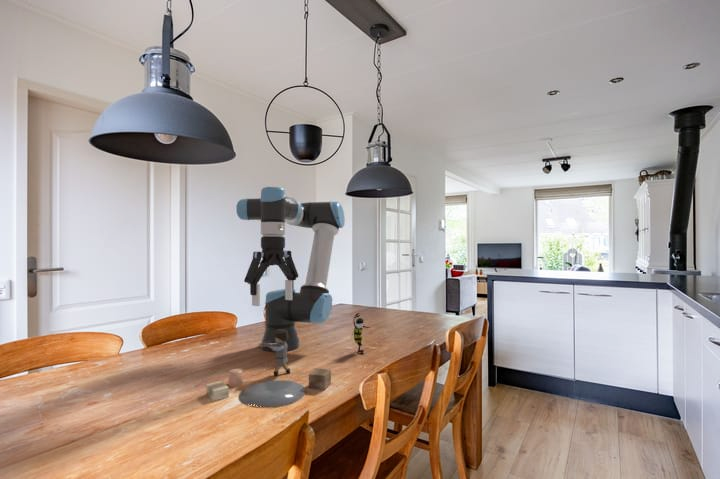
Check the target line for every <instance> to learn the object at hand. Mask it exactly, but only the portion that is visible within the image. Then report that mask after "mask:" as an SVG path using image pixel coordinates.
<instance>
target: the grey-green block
mask: <svg viewBox="0 0 720 479" xmlns="http://www.w3.org/2000/svg"><path fill="white" fill-rule="evenodd" d="M229 387H230V386H229V385H227V384H226V383H224V382H223V381H222V380H219V381H216V382H215V381H214V382H212V383H207V384H206V386H205V388H206V389H205V390H206V391H205V392H206V393H205V394H206V396H208V398H210V399H211V400H212V401H213V402H216V401H220V400H223V398H224V399H227V398H229V397H230V394H229V393H230V389H229ZM219 399H220V400H219ZM215 400H216V401H215Z"/></svg>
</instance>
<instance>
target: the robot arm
mask: <svg viewBox="0 0 720 479" xmlns="http://www.w3.org/2000/svg"><path fill="white" fill-rule="evenodd" d="M235 207H236V214H237V217H238V218H239V219H240V220H243V221H260V235H261V237H260V248H261V251H253V253H252V259H251V262H250V265H249V267H248V269H247V272H246V275H245V278H244V280H243V281H244V283H246V284H248V285H250V286H249V287H250V288H249V290H250V292H249V293H250V296H251V306H253V307H260V306H261V297H260V296H261V293H260V292H261V284H259V281H260V280H261V279H262V277H263V276H264V274H265V272H267V269H268V268H269V267H271V266H278V268H279V269H280V271H281V272H282V274H283V275H284V276H285V278H286V280H284V288H281V289H276V290H272V291H271V290H270V291H269V292H267V293H266V295H265V301H264V304H265V330H264V333H263V337H262V340H261V343H263V342H267V343H276V340H275V331H276V330H279V329H284V330H287V331H288V335H289V338H288V340H287V341H286V343H287V345H288V347H287V352H288V351H292V350H295V349H297V348H299V347H300V338H299V336H298V332H297V330H296V323H308V324H309V323H310V324H324V323H325V322H326V321H327V320H328V319H329V318H330V315H331V313H332V309H333V296H332V295H331V294H330V291H329V289H328V287H327V285H328V284H327V283H328V277H329V271H330V264H331V258H332V251H333V246H334V240H335V239H334V238H335V236H336V235H338V233H339V229H342V228H344V226H345V212H344V208H343V205H342V204H341V203H340V202H338V201H314V202H309V201H308V202H302V203H301V202H300V201H298V199H295V198H293V197H288V196H286V191H285V188H283V187H280V186H279V187H278V186H265V187H263V188H261V189H260V198H243V199H242V198H241V199H239V200H238V201H237V203H236V206H235ZM286 224H288V225H289V226H296V227H301V228H307V229H312V231H313V232H314V235H313V240H312V246H311V251H310V256H309V261H308V262H309V263H308V266H307V267H308V268H307V273H306V278H305V283H304V284H303V285H301V286H300V290H299V292H296V290H295V288H294V287H295V286H294V285H295V283H294V282H295V281H296V280H297V279H298V278H299V273H298V270H297V268H296V264H295V263H294V259H293V256H292V251H291V250H284V248H286V238H285V234H286ZM269 341H270V342H269ZM261 343H260V344H261ZM267 343H266V344H267ZM260 347H261V349H262V350H263V351H266V352H275V353H276V351H273V349H271V348H270V347H268V346H267V347H265V346H263V345H260Z"/></svg>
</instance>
